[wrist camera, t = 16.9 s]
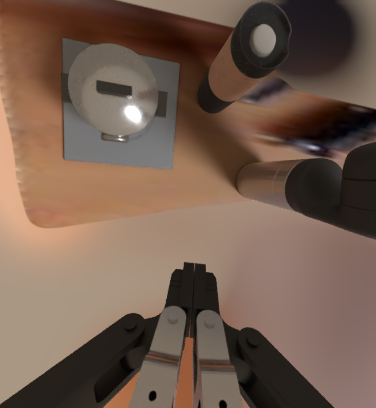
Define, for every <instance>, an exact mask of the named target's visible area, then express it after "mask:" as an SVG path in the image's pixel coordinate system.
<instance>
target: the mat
mask: <svg viewBox="0 0 376 408" xmlns="http://www.w3.org/2000/svg"><path fill="white" fill-rule="evenodd" d="M93 45H94V44H89V43H85V42H80V41H75V40H71V39H66V38H62V46H63V73H66V74H69V71H70V68H71V66H72V64H73V62H74V60H75V59H76V57H77V56H78V55H79V54H80V53H81V52H82V51H84V50H85V49H87V48H89V47H91V46H93ZM137 55H139V54H137ZM139 56H140V57H141V58H142V59H143V60H144V61H145V62H146V64H147V65H148V66H149V68H150V69H151V71H152V73H153V75H154V77H155V80H156V83H157V87H158V90H159V91H164V92H168V94H167V110H166V118H162V117H155V116H154V117H153V119H152V122H151V125H150V127H149V129H148V130H147V132H146V133H145V134H144V135H142V136H141V137H140V138H138V139H135V140H131V141H128V143H120V142H112V141H103V140H101V133H102V132H100V131H98V130H96V129H94V128H93V127H92V126H90V125H89V124H88V123H87V122H86V121H85V120H84V119H83V118H82V117H81V116H80V115H79V114H78V112H77V111H76V109H75V107H74V105H73V104H70V103H64V102H63V103H64V160H73V161H84V162H95V163H106V164H117V165H128V166H138V167H149V168H160V169H171V170H172V165H173V151H174V137H175V124H176V110H177V96H178V83H179V69H180V64H179V63H175V62H170V61H166V60H161V59H157V58H152V57H148V56H143V55H139Z"/></svg>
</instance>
